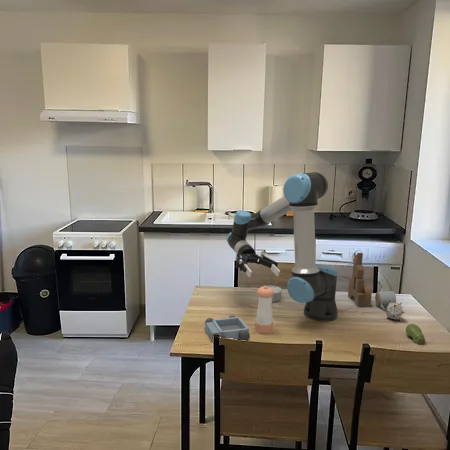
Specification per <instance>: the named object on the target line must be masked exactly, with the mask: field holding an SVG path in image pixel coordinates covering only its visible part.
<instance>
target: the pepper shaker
mask: <svg viewBox="0 0 450 450" xmlns="http://www.w3.org/2000/svg"><path fill="white" fill-rule="evenodd" d="M263 286H264V287H261V286H260V287H261V288H260V287H259V288H258V289H257V291H256V294H257V296H258V302H257V303H258V306H257V312H256V320H255V325H254V326H255V327H254V328H255V331H256V332H257V333H258V334H271V333H273V330H274V322H273V321H274V320H273V319H274V318H273V316H274V314H273V307H272V306H273V302H272V297H273V295H274V291H273V289H272V288H269V287H267V286H265V285H263Z"/></svg>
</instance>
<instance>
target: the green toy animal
mask: <svg viewBox="0 0 450 450" xmlns="http://www.w3.org/2000/svg"><path fill="white" fill-rule="evenodd" d="M405 333H406V335H407V336H408V337H410V338H412V342H413V343H415V344H416V343H417V344H418V343H419V345H424V344H425V342H426V339H425V335H424V334H423V330H422V329H421V327H420V326H418V325H417V324H414V323H409V324H407V325H406V327H405ZM420 343H421V344H420Z"/></svg>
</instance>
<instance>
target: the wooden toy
mask: <svg viewBox="0 0 450 450" xmlns="http://www.w3.org/2000/svg"><path fill="white" fill-rule="evenodd" d="M363 256H364V253H363V252H357V253H356V255H355V256H354V257H353V259H352V262H353V263H352V274H351V278H350V279H348V280H349V281H348V292H347V297H348V298H349V299H350V300H354V305H355V306H356V307H357V308H366V307H367V308H368V307H369V308H370V307H371V305H372V295H373V294H372V293H373V291H372V288H371V286H370V285H368V284H367V285H365V279H364V274H365V267H364V265H363Z"/></svg>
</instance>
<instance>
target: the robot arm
mask: <svg viewBox="0 0 450 450" xmlns="http://www.w3.org/2000/svg"><path fill="white" fill-rule="evenodd" d="M282 191H283V196H281V198H278V199H277V200H275V201H273V202H272V203H270V204H269V205H267V206H265V207H263V208H261V209H260V210H259V211H256V212H254V213H251V212H249V211H248V210H237V211H236V212H235V215H234V218H233V222H232V223H233V224H232V229H231V232H229V233H228V235H227V237H226V242H227V243H228V245H229V247H230V249H232V250H233V251H234V252H235V254H236V255H235V261H236V262H235V263H236V264H235V269H237V270H238V269H239V271H240V272H243V273H245V274H246V276H247V277H248V278H251V277H252V274H253V272H252V270H251V269H250V268H249V266H248V265H247V264H257V265H261V266H264V267H266V268H269V269H270V271H271V272H272V273H273V274H274V275H275V276H276V277H278V278H279V277H280V274H281V270H280V269H279V267H278V264H279V262H277V261H275V260H274V259H272V258H270V257H267V256H266V255H265V254H263V253H261V254H260V255H259V254H257V253H256V250H255V248H253V246H251V244H250V243H249V242H248V241H247V236H248V232H249V231H250V230H255V229H260V228H265V227H267V226H269V225H270V224H271V222H273V221H275V220H276V219H278V218H280V217H283V216H285V215H286V214H288V213H289V212H293V215H292V217H293V220H292V221H293V241H294V242H293V243H294V245H293V246H294V247H293V248H294V266H293V267H292V269H291V277H290V279H288V281H287V285H286V289H287V293H288V295H289V296H290V298H292V300H293V301H295V302H297V303H298V304H304V307H303V314H304V316H305V317H306V318H309V319H311V320H314V321H320V322H331V321H335V320H336V319H337V318H338V316H339V310H338V306H337V304H336V293H337V280H338V269H337V268H336V267H334V266H331V265H329V264H324V263H323V264H322V263H317V262H316V230H315V227H316V226H315V209H316V208H317V207H318V204H319V201H318V200H319V199H321V198H323V197H324V196H325V195H326V194H327V193H328V191H329V182H328V179H327V178H326V176H325V175H324V174H322V173H321V172H317V171H316V172H315V171H314V172H313V171H312V172H299V173H295V174H292V175H289V176H288V178H287V179H286V180H285V182H284V184H283V188H282ZM241 261H242V262H241ZM240 262H241V263H240Z"/></svg>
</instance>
